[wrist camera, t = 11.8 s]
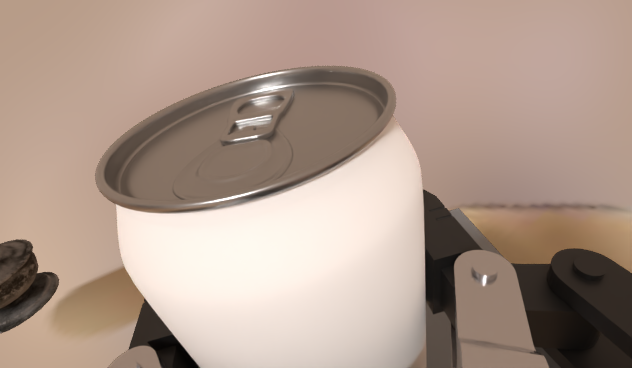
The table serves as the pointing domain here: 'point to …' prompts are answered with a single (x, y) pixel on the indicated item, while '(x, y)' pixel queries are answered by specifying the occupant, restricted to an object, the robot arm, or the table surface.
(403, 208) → the can
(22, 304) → the salt shaker
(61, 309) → the table surface
